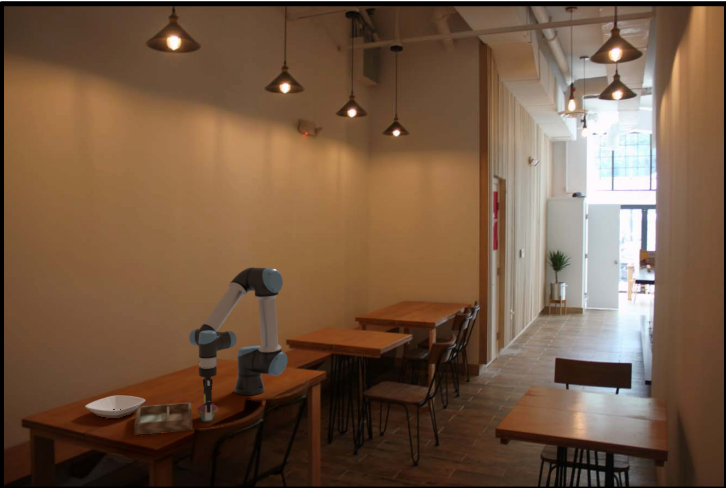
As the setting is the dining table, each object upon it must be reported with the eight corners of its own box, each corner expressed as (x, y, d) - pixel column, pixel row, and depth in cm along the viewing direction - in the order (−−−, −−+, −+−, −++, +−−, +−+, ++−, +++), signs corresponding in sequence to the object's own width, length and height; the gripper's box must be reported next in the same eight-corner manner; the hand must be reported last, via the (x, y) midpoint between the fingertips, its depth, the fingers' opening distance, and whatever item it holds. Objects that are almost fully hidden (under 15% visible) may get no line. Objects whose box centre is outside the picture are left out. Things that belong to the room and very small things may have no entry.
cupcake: (193, 421, 253) (193, 394, 252) (205, 415, 261) (205, 389, 260) (209, 424, 250) (209, 396, 249) (221, 418, 257) (221, 391, 257)
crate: (190, 412, 265) (190, 402, 264) (192, 430, 241) (192, 419, 241) (138, 417, 258) (138, 406, 258) (134, 436, 234) (134, 424, 234)
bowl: (78, 418, 256) (78, 406, 256) (115, 404, 276) (115, 393, 276) (116, 424, 248) (116, 412, 248) (151, 410, 268) (151, 398, 268)
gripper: (197, 360, 265) (197, 407, 266) (200, 373, 241) (199, 424, 242) (214, 359, 267) (214, 405, 268) (218, 372, 244) (218, 422, 244)
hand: (207, 414), depth 255 cm, fingers open, 13 cm apart
